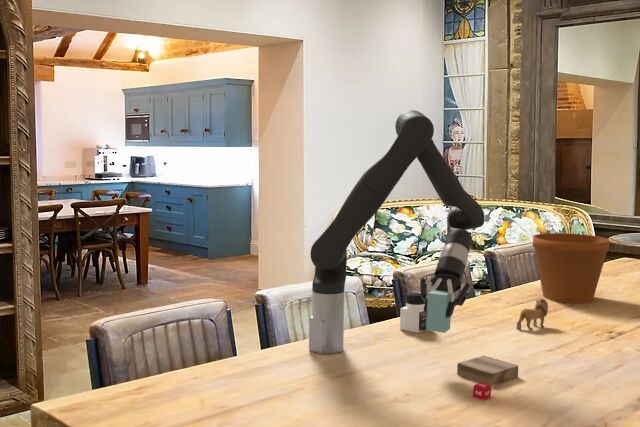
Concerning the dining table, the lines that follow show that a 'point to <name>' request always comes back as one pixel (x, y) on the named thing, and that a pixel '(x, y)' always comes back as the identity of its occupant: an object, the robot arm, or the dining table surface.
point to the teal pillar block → (438, 311)
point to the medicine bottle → (413, 314)
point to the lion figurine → (534, 314)
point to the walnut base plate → (487, 370)
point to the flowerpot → (569, 265)
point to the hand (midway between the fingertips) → (436, 314)
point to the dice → (482, 391)
